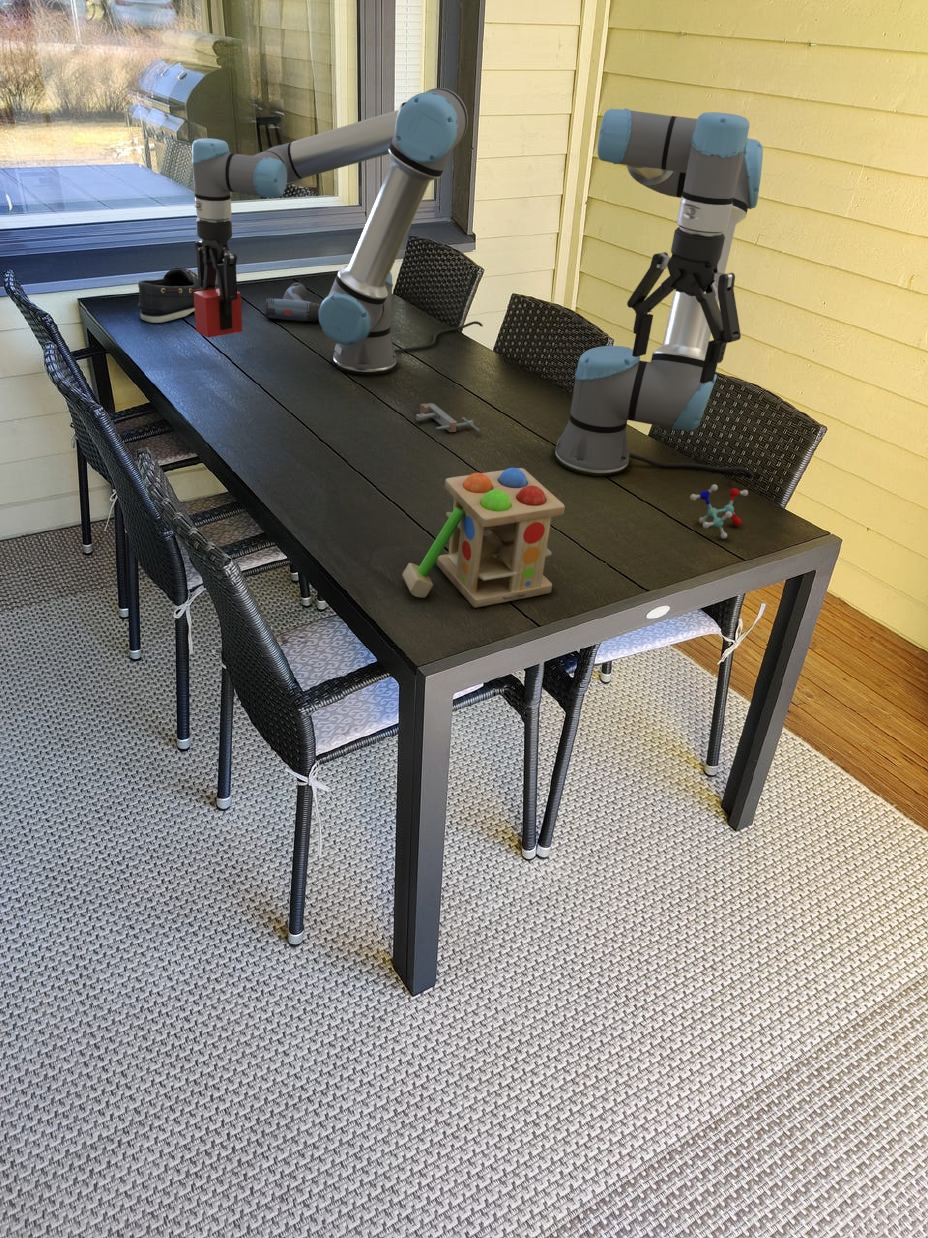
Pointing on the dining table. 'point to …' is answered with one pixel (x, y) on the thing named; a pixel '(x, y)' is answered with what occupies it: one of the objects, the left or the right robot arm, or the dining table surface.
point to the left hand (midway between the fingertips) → (219, 324)
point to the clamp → (442, 418)
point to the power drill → (293, 306)
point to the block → (215, 313)
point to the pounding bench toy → (492, 538)
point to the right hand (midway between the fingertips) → (671, 368)
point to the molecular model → (713, 512)
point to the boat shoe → (169, 295)
